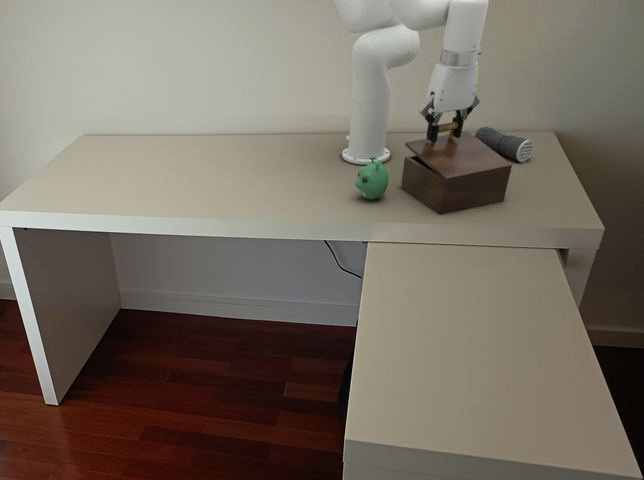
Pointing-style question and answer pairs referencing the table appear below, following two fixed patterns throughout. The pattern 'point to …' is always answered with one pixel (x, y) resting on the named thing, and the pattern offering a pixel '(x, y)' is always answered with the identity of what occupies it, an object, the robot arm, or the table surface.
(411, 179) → the chest
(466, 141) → the lid
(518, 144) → the flashlight
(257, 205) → the table surface
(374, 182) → the alien toy
